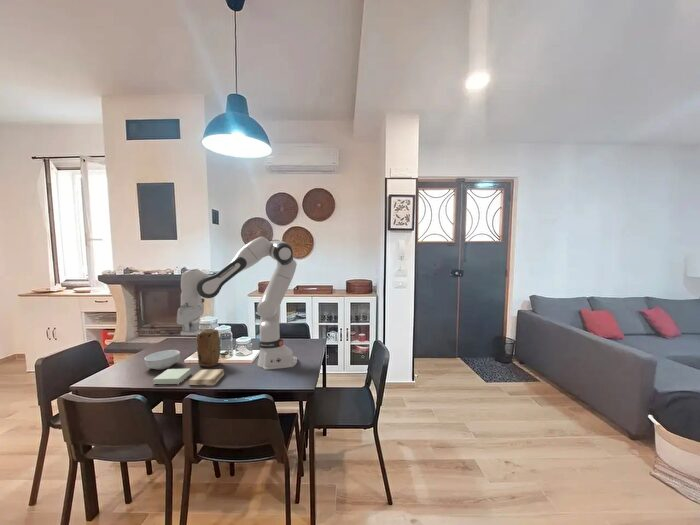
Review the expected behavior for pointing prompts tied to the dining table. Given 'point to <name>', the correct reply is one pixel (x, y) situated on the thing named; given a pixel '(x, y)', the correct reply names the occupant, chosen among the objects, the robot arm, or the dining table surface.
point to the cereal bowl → (162, 359)
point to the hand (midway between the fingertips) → (190, 329)
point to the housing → (192, 327)
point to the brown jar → (208, 348)
